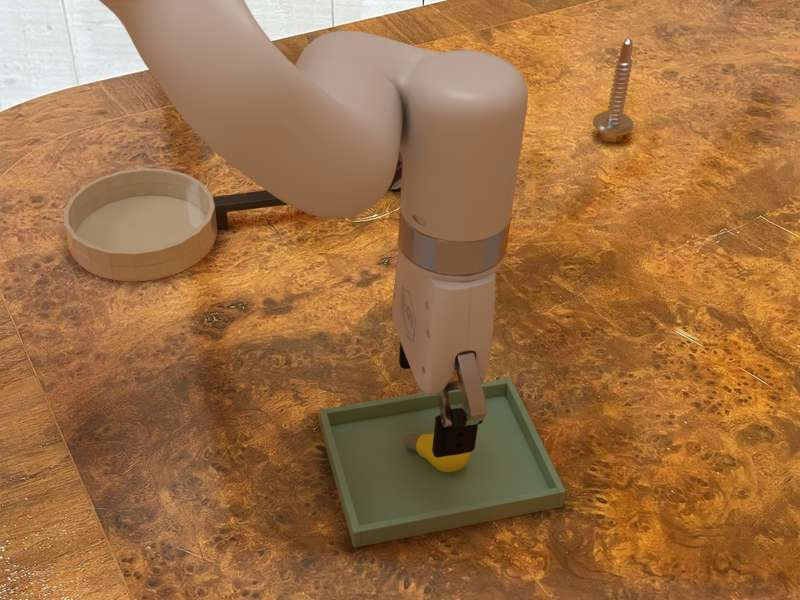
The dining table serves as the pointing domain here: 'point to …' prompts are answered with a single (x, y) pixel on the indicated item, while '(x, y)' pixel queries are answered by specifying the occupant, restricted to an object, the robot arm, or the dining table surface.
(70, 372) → the dining table surface
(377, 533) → the tray
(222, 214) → the pan handle
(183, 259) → the pan
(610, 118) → the screw
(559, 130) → the dining table surface
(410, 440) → the light bulb
